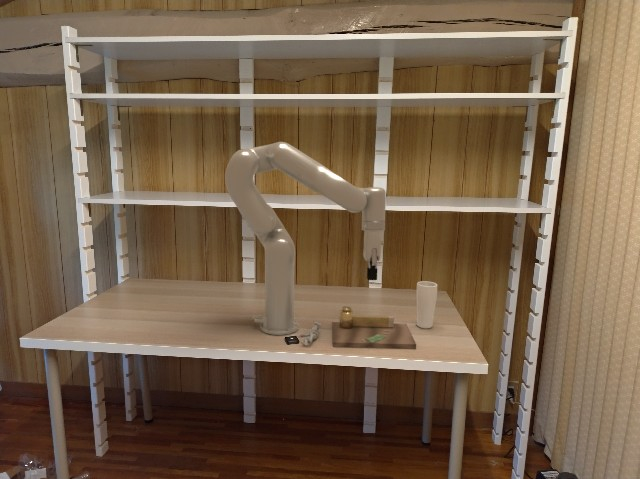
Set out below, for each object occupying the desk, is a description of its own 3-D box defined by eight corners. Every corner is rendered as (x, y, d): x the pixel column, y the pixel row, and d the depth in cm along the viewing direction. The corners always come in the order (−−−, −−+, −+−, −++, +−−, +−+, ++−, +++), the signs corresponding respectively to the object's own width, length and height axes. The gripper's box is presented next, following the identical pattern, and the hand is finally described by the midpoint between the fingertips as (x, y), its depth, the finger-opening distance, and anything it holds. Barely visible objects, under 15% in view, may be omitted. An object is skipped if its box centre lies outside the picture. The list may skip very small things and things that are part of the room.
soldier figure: (294, 348, 141) (301, 323, 151) (305, 357, 142) (312, 331, 152) (310, 335, 137) (317, 310, 148) (322, 344, 139) (328, 319, 149)
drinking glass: (420, 321, 163) (422, 279, 160) (438, 325, 158) (441, 283, 156) (410, 326, 157) (413, 283, 155) (429, 331, 153) (432, 287, 150)
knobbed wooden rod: (339, 328, 150) (340, 309, 149) (339, 323, 154) (339, 305, 153) (394, 329, 150) (395, 311, 149) (392, 324, 154) (393, 306, 153)
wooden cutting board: (332, 347, 140) (333, 341, 139) (332, 326, 156) (332, 321, 156) (416, 349, 139) (416, 343, 139) (406, 327, 156) (406, 323, 156)
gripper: (360, 221, 159) (359, 273, 163) (363, 229, 144) (362, 285, 148) (382, 222, 159) (380, 273, 163) (387, 229, 144) (386, 286, 148)
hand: (372, 279), depth 155 cm, fingers closed
